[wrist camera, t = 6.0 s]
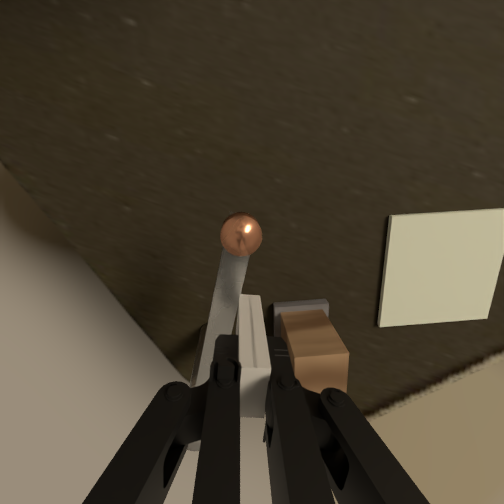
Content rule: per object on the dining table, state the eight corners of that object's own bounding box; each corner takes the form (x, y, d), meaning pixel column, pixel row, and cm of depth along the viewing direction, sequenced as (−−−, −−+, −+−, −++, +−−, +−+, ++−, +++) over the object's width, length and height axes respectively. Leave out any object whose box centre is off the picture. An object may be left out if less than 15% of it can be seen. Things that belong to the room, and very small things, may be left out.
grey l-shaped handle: (199, 337, 34) (174, 466, 19) (228, 186, 28) (222, 211, 14) (218, 340, 34) (207, 469, 20) (250, 191, 29) (268, 221, 14)
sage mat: (389, 215, 30) (392, 216, 30) (510, 207, 31) (515, 208, 30) (377, 324, 35) (379, 327, 34) (482, 315, 35) (486, 318, 35)
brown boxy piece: (273, 302, 33) (286, 351, 24) (325, 298, 33) (357, 345, 25) (274, 347, 35) (287, 407, 26) (323, 343, 35) (352, 400, 27)
